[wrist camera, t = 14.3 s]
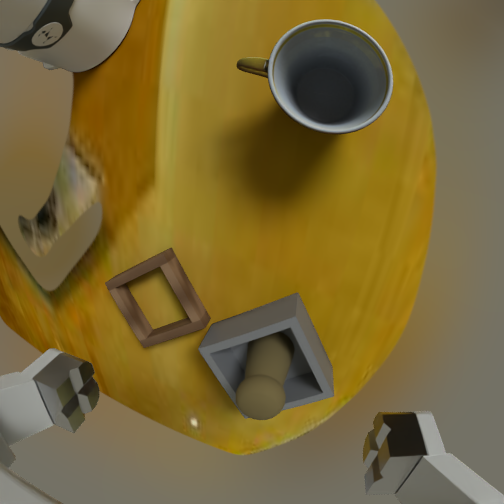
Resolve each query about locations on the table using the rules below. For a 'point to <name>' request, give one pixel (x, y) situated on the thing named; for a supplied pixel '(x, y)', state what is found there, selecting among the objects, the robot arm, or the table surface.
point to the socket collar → (182, 290)
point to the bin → (262, 324)
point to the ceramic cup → (327, 76)
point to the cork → (265, 376)
